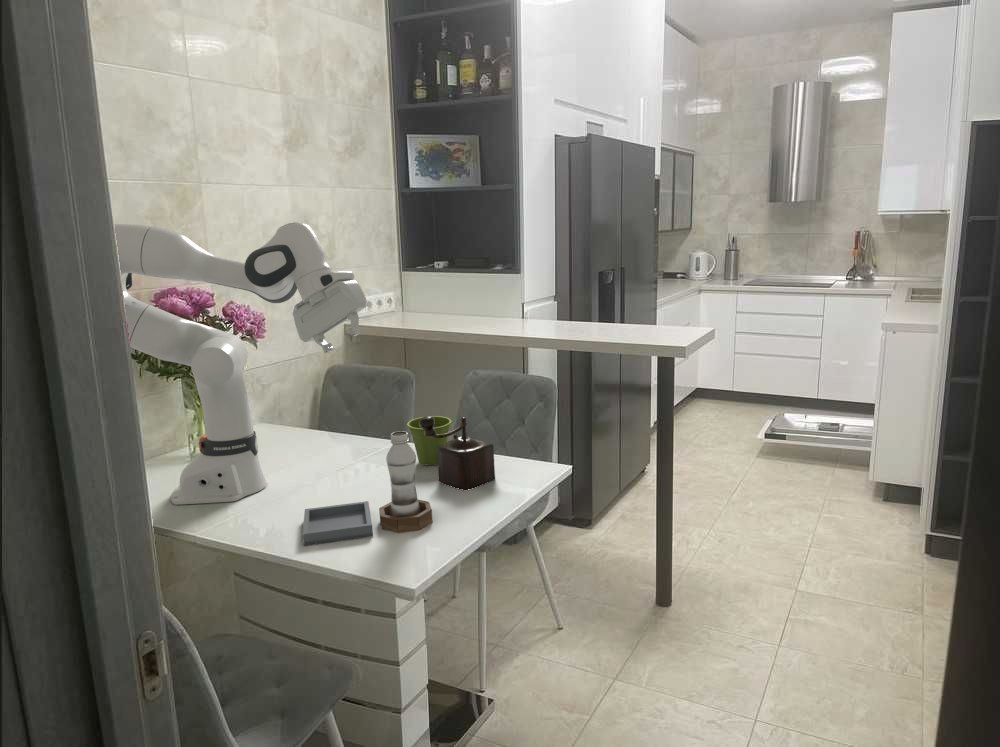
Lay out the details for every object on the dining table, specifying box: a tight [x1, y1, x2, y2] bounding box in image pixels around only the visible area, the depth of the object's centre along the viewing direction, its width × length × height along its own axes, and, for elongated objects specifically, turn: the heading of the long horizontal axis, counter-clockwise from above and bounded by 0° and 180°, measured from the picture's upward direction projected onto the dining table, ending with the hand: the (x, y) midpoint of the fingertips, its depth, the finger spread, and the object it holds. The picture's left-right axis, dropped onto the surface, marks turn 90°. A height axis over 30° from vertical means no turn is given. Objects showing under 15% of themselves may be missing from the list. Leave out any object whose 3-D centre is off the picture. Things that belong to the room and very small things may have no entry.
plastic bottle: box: [385, 430, 420, 518], centre depth 160 cm, size 6×7×20 cm
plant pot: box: [406, 415, 452, 466], centre depth 200 cm, size 12×12×11 cm
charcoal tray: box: [302, 500, 374, 547], centre depth 160 cm, size 14×14×3 cm
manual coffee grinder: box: [419, 415, 496, 491], centre depth 182 cm, size 16×11×18 cm
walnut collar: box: [378, 499, 434, 534], centre depth 162 cm, size 11×11×3 cm
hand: (342, 343), depth 169 cm, fingers open, 8 cm apart
